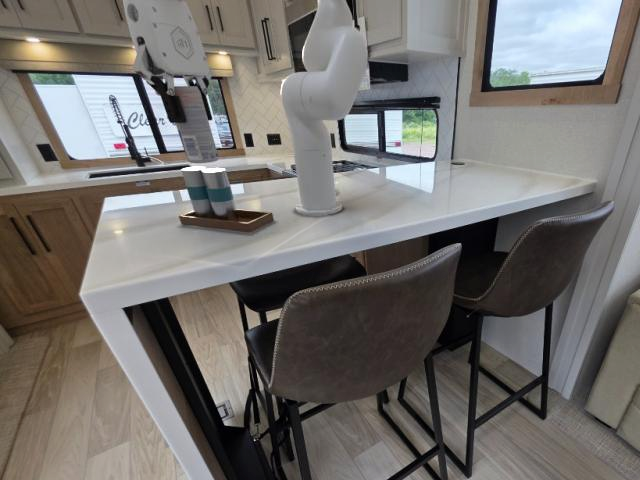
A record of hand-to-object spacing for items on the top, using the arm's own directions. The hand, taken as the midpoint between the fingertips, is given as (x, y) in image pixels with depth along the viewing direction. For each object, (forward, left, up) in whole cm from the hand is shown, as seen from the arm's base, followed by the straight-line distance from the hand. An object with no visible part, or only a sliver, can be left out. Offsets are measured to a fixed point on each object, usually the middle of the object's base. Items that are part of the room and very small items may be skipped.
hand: (191, 120), depth 59 cm
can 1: (-9, -13, -22) cm, 27 cm away
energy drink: (0, 0, -7) cm, 7 cm away
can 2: (-9, -7, -22) cm, 25 cm away
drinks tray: (-9, -7, -23) cm, 26 cm away
